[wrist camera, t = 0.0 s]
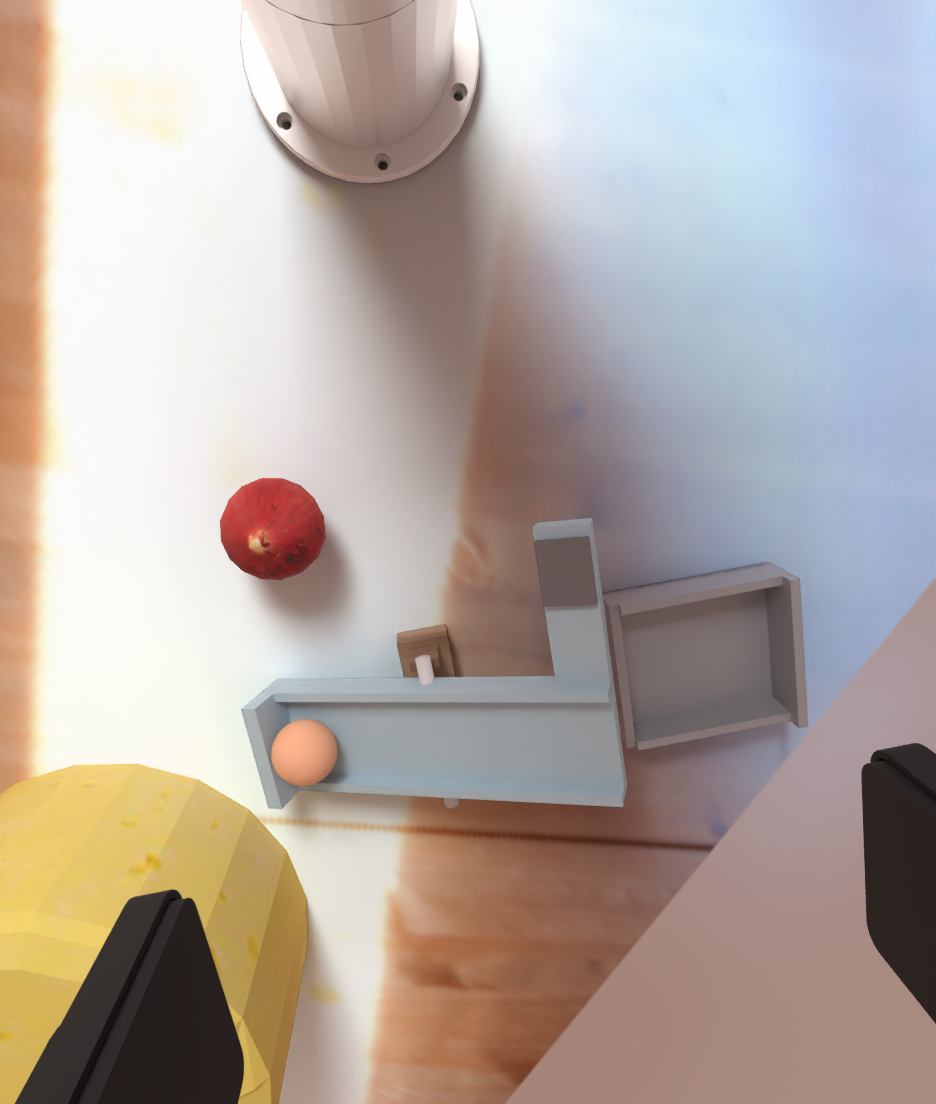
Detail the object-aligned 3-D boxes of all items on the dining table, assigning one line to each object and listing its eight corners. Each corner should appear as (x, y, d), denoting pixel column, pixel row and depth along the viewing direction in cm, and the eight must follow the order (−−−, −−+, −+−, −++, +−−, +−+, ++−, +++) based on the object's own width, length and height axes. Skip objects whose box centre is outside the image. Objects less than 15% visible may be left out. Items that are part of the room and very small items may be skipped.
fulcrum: (397, 633, 48) (396, 659, 43) (445, 624, 48) (448, 649, 43) (425, 766, 50) (426, 803, 46) (471, 757, 50) (476, 793, 46)
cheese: (286, 1082, 56) (241, 1331, 42) (-72, 1056, 53) (-254, 1314, 39) (332, 786, 50) (299, 956, 36) (-68, 738, 47) (-282, 902, 33)
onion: (350, 517, 45) (337, 547, 38) (287, 579, 46) (262, 621, 38) (281, 450, 44) (253, 468, 36) (217, 515, 45) (177, 546, 37)
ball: (297, 704, 47) (250, 735, 44) (343, 711, 45) (297, 744, 41) (310, 758, 48) (266, 792, 45) (356, 767, 46) (312, 805, 42)
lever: (243, 548, 45) (201, 568, 42) (592, 517, 37) (578, 539, 34) (306, 791, 50) (274, 828, 46) (630, 808, 42) (621, 854, 38)
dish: (599, 593, 48) (615, 613, 44) (768, 562, 48) (799, 578, 44) (617, 730, 51) (634, 760, 47) (777, 699, 51) (807, 726, 47)
